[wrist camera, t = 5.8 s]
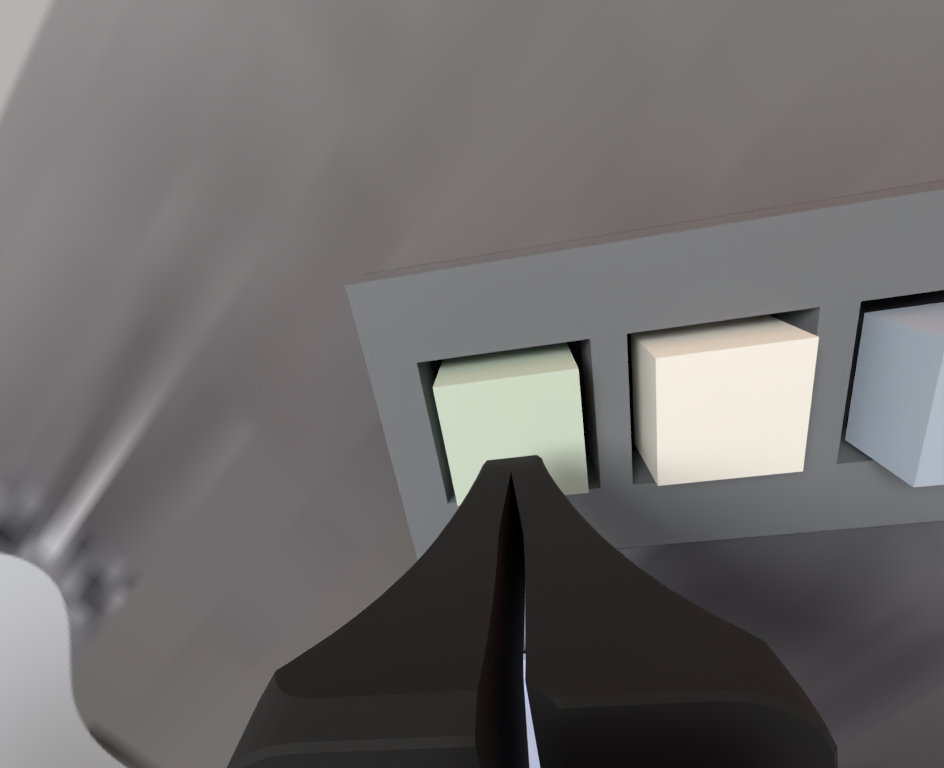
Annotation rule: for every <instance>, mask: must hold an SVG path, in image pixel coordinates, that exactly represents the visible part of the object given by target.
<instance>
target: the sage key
mask: <svg viewBox="0 0 944 768" xmlns="http://www.w3.org/2000/svg"><path fill="white" fill-rule="evenodd" d="M433 392H434V397H435V401H436V406H437V411H438V416H439V420H440V425H441V430H442V435H443V439H444V444H445V449H446V454H447V458H448V463H449V468H450V472H451V477H452V482H453V487H454V491H455V496H456V501H457V506H460V505H461V503H462V501H463V500H464V498H465V497H466V495H467V494H468V492H469V490H470V488H471V487H472V485H473V483H474V481H475V480H476V478H477V476H478V474H479V472H480V470H481V468H482V466H483V464H484V463H485V462H486V461H487V460H495V459H504V458H513V457H522V456H531V455H538V456H539V457H541V458H542V460H543V462H544V465H545V467H546V468H547V470H548V472H549V474H550V475H551V477H552V478H553V480H554V481H555V483H556V484H557V486H558V487H559V488H560V490H561V491H562V492H563V494H564V495H573V494H583V493H589V489H588V477H587V465H586V453H585V441H584V429H583V417H582V405H581V393H580V380H579V368H578V366H577V364H576V362H575V360H574V358H573V356H572V353H571V351H570V349H569V347H568V345H567V343H566V342H564V343H556V344H549V345H542V346H535V347H527V348H520V349H513V350H506V351H498V352H491V353H484V354H477V355H469V356H462V357H455V358H448V359H443V360H442V363H441V366H440V368H439V371H438V374H437V377H436V380H435V382H434V385H433Z"/></svg>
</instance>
